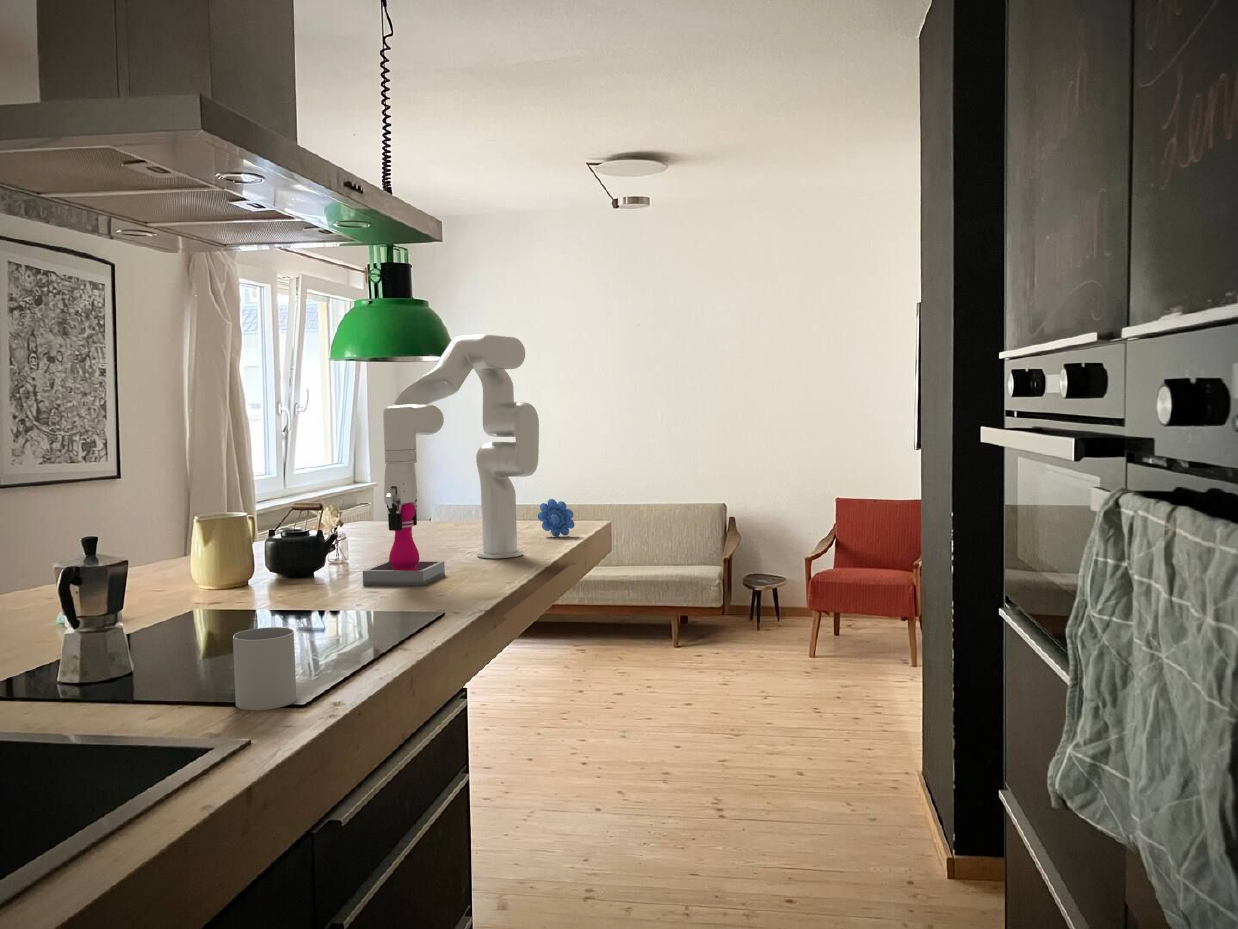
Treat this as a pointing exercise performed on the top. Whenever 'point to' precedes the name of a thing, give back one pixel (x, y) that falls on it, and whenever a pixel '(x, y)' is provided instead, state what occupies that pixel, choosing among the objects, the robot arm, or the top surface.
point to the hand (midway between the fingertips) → (403, 527)
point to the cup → (264, 668)
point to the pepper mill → (405, 542)
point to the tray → (403, 574)
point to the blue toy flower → (556, 517)
